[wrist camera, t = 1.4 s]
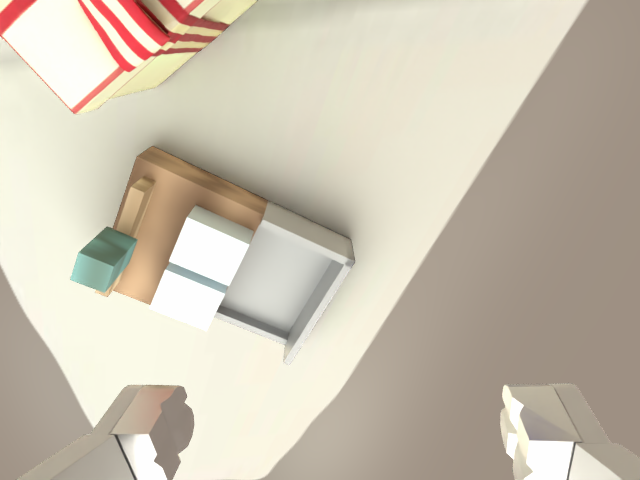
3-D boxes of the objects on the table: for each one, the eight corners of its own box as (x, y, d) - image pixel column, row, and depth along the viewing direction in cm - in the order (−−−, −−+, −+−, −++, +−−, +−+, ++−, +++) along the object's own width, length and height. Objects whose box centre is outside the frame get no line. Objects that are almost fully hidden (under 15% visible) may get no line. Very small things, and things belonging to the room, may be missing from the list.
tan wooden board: (111, 264, 47) (94, 283, 43) (152, 145, 41) (136, 156, 37) (215, 306, 49) (208, 327, 46) (268, 200, 44) (264, 215, 40)
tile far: (159, 291, 44) (149, 308, 41) (174, 254, 42) (165, 269, 39) (213, 313, 45) (206, 330, 42) (230, 277, 43) (225, 294, 40)
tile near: (178, 246, 41) (168, 261, 39) (195, 204, 40) (186, 217, 37) (234, 270, 43) (228, 286, 40) (253, 231, 41) (249, 244, 38)
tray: (215, 306, 49) (206, 333, 45) (268, 200, 44) (262, 219, 39) (291, 336, 52) (289, 365, 47) (351, 239, 46) (355, 261, 41)
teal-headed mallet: (101, 273, 43) (57, 320, 35) (135, 172, 38) (93, 203, 31) (127, 283, 43) (90, 332, 36) (164, 185, 39) (130, 219, 31)
